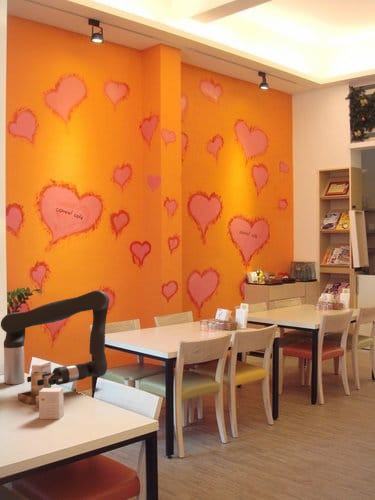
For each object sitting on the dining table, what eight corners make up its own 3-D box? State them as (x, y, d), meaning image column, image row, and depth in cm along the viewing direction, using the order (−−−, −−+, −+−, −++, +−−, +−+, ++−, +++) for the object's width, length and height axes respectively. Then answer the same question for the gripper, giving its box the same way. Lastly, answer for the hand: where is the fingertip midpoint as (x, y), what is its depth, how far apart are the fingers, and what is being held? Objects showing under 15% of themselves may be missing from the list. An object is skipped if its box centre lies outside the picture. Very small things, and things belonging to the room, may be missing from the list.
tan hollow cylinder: (29, 397, 239) (28, 372, 239) (39, 395, 243) (38, 370, 242) (34, 400, 236) (34, 373, 236) (44, 397, 239) (44, 371, 239)
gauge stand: (35, 406, 229) (35, 376, 229) (49, 403, 233) (48, 374, 233) (43, 409, 225) (43, 379, 225) (56, 406, 229) (56, 376, 229)
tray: (17, 399, 239) (17, 393, 239) (41, 394, 247) (41, 388, 247) (31, 404, 231) (31, 398, 231) (55, 399, 239) (55, 393, 239)
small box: (64, 414, 217) (63, 387, 217) (59, 419, 212) (59, 391, 211) (44, 414, 218) (43, 387, 218) (38, 419, 212) (38, 391, 212)
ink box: (42, 386, 261) (42, 360, 261) (51, 386, 260) (51, 361, 260) (31, 390, 253) (31, 364, 253) (40, 391, 252) (40, 365, 252)
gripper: (56, 363, 254) (24, 369, 243) (74, 368, 244) (41, 375, 233) (57, 380, 254) (24, 387, 243) (74, 385, 244) (41, 393, 233)
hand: (32, 381), depth 238 cm, fingers open, 8 cm apart
